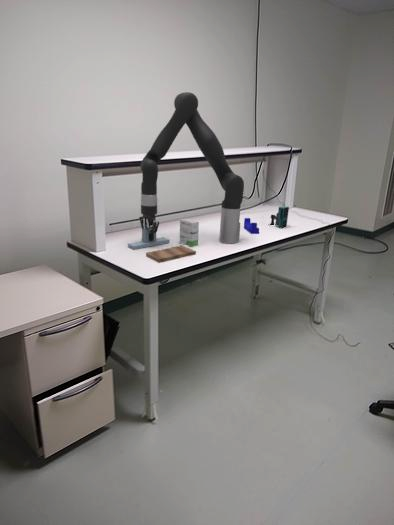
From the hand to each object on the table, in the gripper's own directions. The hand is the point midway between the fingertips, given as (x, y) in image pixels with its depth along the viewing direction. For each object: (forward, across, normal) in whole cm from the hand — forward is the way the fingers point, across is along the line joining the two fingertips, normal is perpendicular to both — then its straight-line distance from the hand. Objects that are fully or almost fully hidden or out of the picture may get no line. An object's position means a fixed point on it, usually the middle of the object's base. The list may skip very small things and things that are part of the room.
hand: (149, 239), depth 190 cm
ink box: (+3, -9, -17) cm, 19 cm away
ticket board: (+3, -18, 0) cm, 18 cm away
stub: (+3, 0, 0) cm, 3 cm away
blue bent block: (+3, -8, -62) cm, 62 cm away
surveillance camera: (+3, -9, -83) cm, 84 cm away
